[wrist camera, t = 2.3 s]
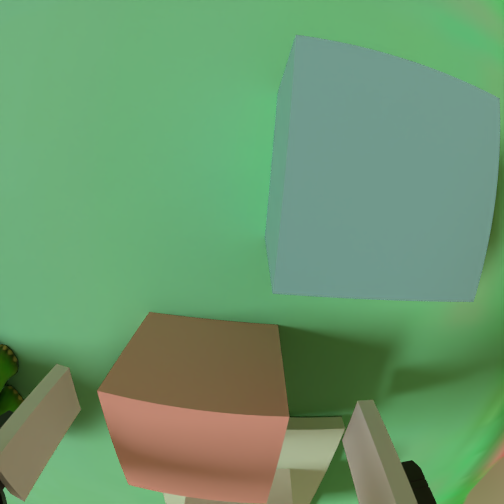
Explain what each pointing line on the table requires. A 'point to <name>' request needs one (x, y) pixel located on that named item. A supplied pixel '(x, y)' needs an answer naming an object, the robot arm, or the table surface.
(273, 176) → the brick teal
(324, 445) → the plate
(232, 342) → the brick coral
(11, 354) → the toy
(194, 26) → the table surface
